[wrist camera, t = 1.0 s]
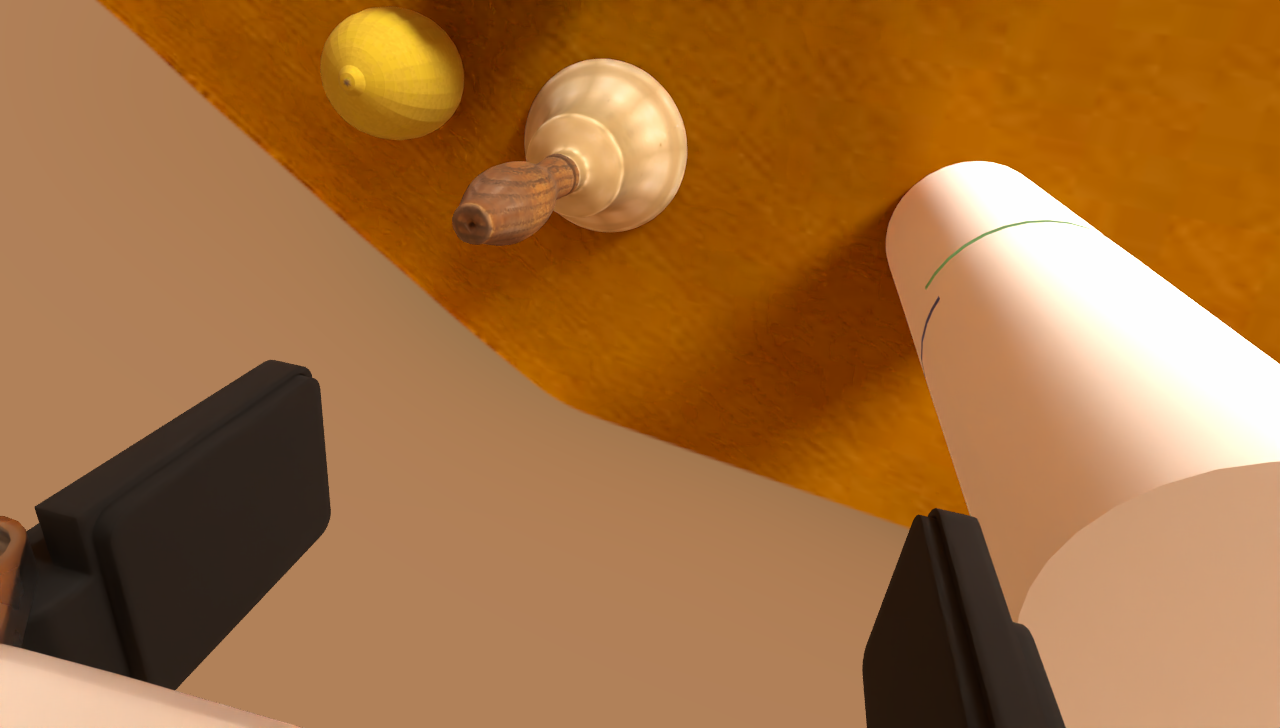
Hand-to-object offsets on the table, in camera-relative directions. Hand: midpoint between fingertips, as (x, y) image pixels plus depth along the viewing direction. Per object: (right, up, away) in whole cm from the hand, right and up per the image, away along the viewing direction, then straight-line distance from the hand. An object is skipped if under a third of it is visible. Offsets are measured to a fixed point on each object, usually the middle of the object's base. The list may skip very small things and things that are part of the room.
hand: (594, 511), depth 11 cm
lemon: (-9, +17, +25) cm, 32 cm away
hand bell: (-1, +13, +25) cm, 28 cm away
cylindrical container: (+16, +8, +23) cm, 29 cm away
